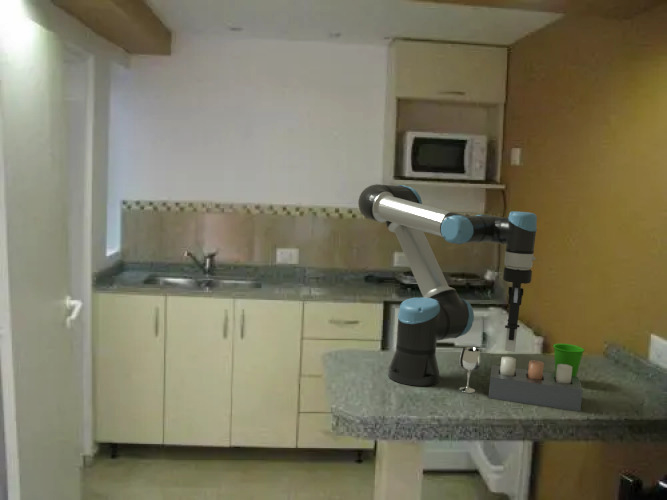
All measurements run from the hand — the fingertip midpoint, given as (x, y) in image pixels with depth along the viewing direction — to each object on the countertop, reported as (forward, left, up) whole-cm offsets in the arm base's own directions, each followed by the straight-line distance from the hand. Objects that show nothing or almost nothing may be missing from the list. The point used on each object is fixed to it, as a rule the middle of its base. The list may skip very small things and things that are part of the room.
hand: (509, 350), depth 183 cm
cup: (+17, +19, -13) cm, 29 cm away
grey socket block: (+7, 0, -13) cm, 15 cm away
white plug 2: (+15, 0, -9) cm, 18 cm away
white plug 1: (0, 0, -9) cm, 9 cm away
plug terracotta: (+7, 0, -9) cm, 12 cm away
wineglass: (-11, -2, -13) cm, 17 cm away
